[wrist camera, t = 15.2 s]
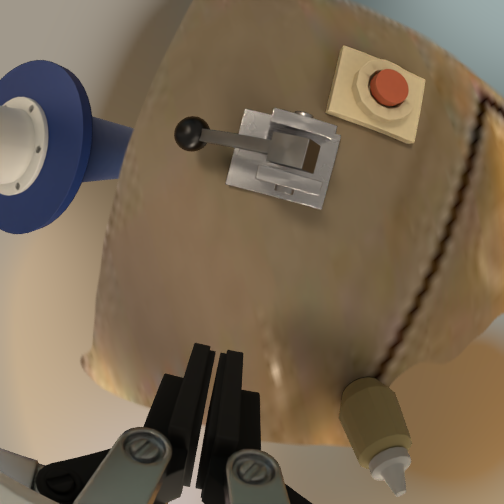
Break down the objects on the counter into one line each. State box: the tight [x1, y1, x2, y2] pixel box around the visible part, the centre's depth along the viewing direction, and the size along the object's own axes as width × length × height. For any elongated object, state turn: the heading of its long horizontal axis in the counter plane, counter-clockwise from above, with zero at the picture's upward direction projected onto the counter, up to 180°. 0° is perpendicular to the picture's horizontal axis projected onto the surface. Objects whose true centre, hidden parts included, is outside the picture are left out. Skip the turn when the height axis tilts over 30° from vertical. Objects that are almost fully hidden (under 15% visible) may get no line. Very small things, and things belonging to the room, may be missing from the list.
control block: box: [325, 46, 425, 144], centre depth 27 cm, size 10×8×4 cm
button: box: [370, 69, 409, 106], centre depth 25 cm, size 4×4×2 cm
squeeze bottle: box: [339, 377, 412, 497], centre depth 30 cm, size 8×8×18 cm
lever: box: [174, 116, 321, 174], centre depth 24 cm, size 13×3×3 cm
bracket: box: [225, 108, 341, 209], centre depth 25 cm, size 10×8×12 cm
